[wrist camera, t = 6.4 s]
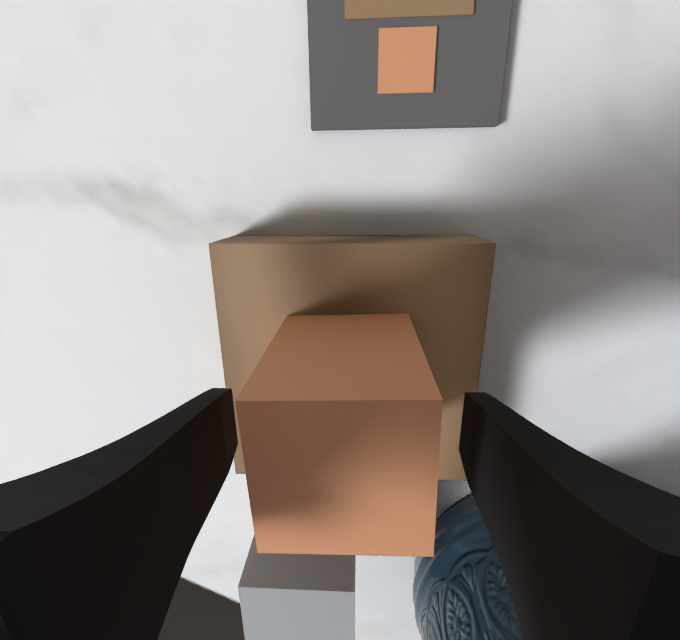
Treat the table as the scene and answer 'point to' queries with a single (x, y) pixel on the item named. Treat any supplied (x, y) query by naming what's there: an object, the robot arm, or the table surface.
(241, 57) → the table surface
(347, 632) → the grey block
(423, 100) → the card
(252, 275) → the walnut base
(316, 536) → the rust block
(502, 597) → the canister
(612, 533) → the robot arm
